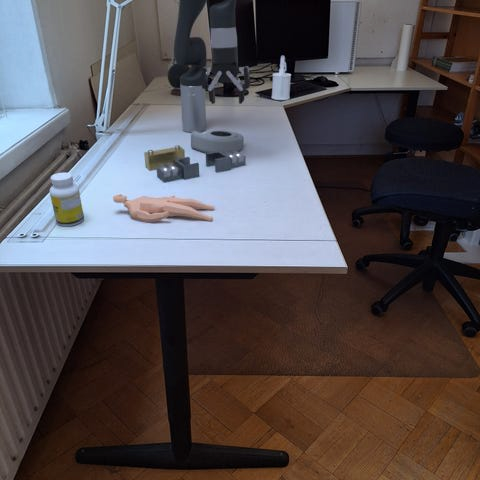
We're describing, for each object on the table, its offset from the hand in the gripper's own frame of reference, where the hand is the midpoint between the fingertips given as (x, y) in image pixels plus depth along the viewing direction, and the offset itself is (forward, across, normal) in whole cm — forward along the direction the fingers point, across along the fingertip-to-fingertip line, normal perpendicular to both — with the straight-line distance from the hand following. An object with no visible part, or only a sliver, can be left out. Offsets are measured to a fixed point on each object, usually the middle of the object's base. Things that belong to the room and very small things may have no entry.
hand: (226, 103), depth 134 cm
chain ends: (+18, +7, +9) cm, 22 cm away
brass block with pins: (+18, +19, +7) cm, 27 cm away
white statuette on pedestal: (+17, -6, -96) cm, 98 cm away
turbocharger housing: (+19, +6, -13) cm, 24 cm away
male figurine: (+20, +9, +39) cm, 45 cm away
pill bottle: (+18, +30, +48) cm, 59 cm away
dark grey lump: (+15, +45, -95) cm, 106 cm away
